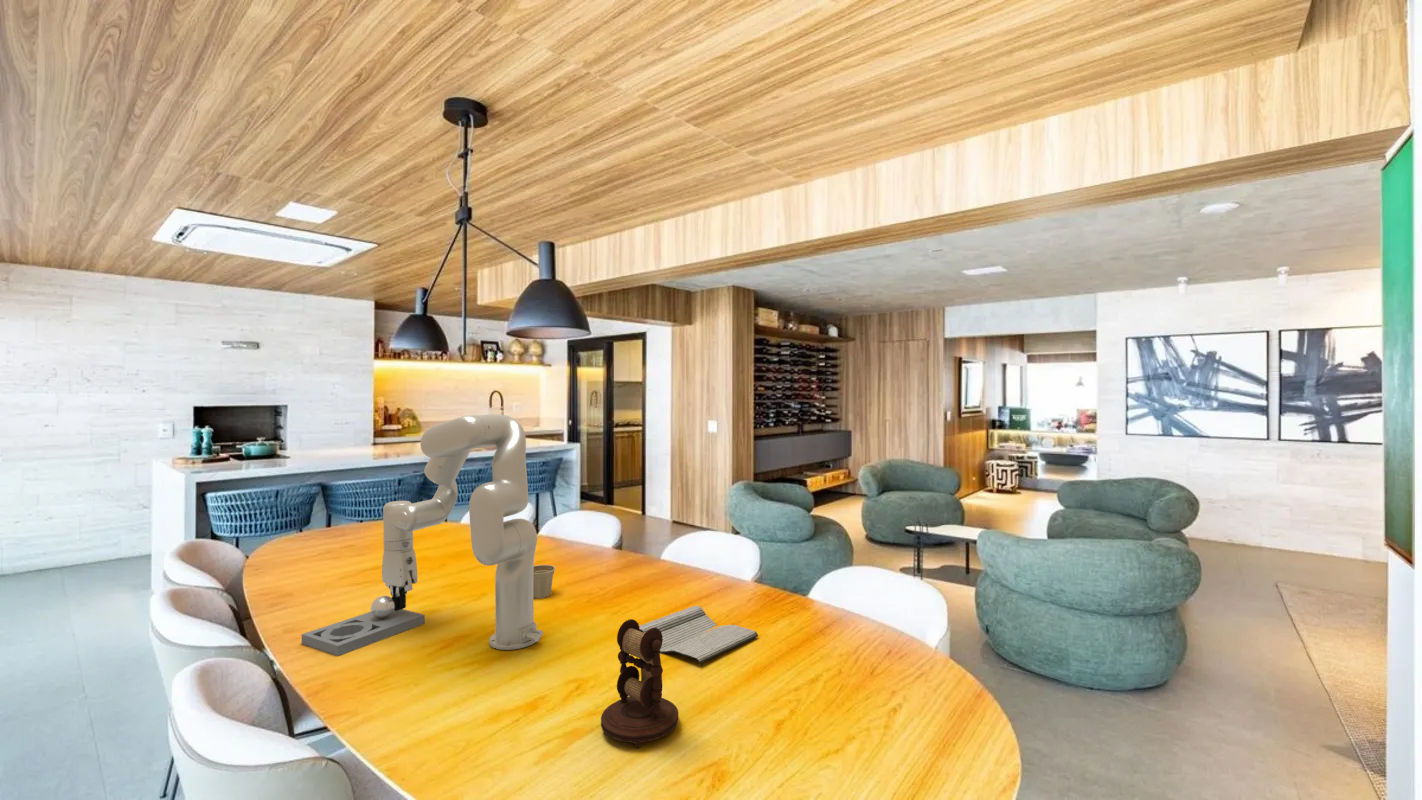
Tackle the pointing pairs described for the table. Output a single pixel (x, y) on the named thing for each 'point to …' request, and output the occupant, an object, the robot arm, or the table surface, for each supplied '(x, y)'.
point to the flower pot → (542, 580)
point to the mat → (697, 634)
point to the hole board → (360, 631)
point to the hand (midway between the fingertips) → (398, 608)
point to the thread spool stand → (639, 690)
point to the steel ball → (382, 607)
